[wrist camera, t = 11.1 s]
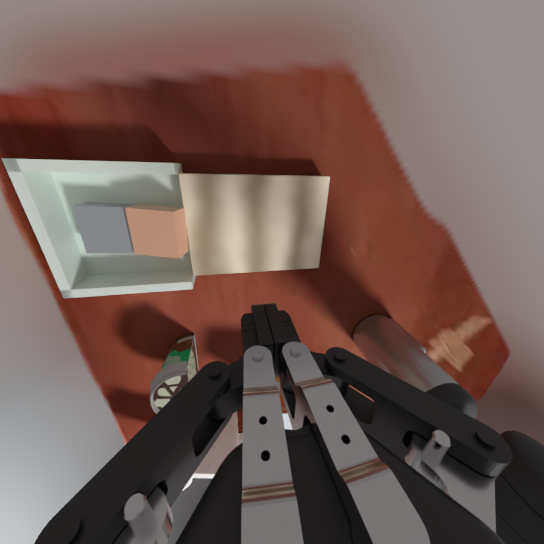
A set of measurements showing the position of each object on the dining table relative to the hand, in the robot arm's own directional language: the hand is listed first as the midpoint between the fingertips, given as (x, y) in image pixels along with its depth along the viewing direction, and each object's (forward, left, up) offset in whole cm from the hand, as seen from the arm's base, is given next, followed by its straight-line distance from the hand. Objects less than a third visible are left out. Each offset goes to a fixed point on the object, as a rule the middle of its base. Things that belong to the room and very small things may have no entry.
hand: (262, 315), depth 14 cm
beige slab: (-3, -1, -23) cm, 23 cm away
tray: (+15, -1, -23) cm, 28 cm away
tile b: (+17, -1, -23) cm, 28 cm away
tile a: (+10, -1, -21) cm, 23 cm away
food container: (+12, +24, -23) cm, 36 cm away
